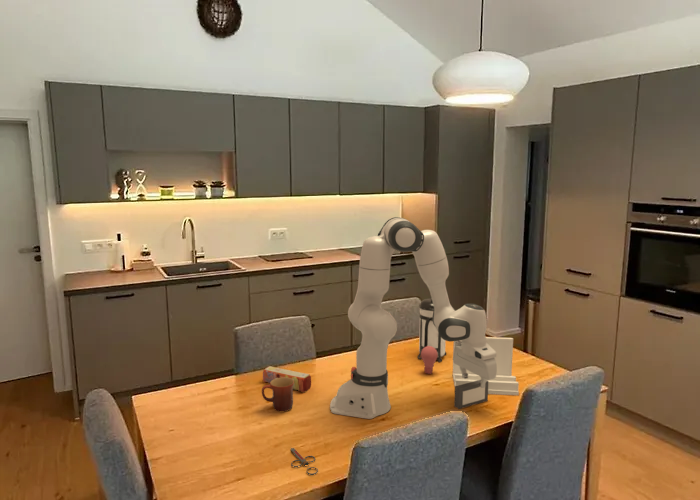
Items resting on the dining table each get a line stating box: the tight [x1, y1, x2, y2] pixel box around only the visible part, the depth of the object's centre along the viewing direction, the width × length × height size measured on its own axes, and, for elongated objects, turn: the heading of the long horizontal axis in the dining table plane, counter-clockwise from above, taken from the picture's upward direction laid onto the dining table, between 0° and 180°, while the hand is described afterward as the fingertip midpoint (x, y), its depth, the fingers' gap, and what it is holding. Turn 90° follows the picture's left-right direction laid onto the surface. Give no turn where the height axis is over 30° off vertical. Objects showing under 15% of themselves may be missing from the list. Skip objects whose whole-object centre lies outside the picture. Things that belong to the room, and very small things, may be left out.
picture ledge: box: [452, 336, 520, 396], centre depth 207 cm, size 24×17×18 cm
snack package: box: [262, 365, 312, 393], centre depth 209 cm, size 21×7×7 cm, turn 60°
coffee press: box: [417, 297, 447, 363], centre depth 235 cm, size 17×16×30 cm
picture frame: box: [453, 379, 489, 410], centre depth 192 cm, size 14×3×8 cm, turn 118°
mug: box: [261, 377, 294, 412], centre depth 188 cm, size 12×9×10 cm
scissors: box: [290, 447, 319, 476], centre depth 156 cm, size 8×18×2 cm, turn 31°
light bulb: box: [420, 346, 438, 374], centre depth 220 cm, size 7×7×12 cm
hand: (473, 382), depth 191 cm, fingers open, 8 cm apart
